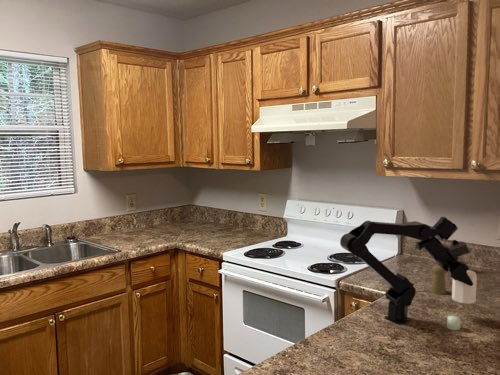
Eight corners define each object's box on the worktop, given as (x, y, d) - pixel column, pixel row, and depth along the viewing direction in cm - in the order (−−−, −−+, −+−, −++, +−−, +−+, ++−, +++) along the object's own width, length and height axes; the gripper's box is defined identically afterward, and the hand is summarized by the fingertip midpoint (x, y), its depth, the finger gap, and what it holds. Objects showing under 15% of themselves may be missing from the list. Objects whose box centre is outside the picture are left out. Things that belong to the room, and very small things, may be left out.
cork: (433, 288, 190) (434, 263, 189) (448, 291, 186) (449, 265, 185) (428, 292, 185) (429, 266, 184) (443, 295, 181) (444, 269, 180)
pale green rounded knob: (455, 331, 147) (456, 321, 147) (444, 327, 150) (445, 317, 150) (462, 328, 149) (463, 318, 149) (451, 324, 152) (452, 314, 152)
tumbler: (477, 303, 153) (479, 275, 152) (456, 302, 154) (457, 274, 153) (470, 296, 160) (471, 269, 159) (450, 296, 161) (451, 269, 160)
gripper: (463, 240, 146) (497, 274, 145) (446, 229, 164) (476, 259, 164) (437, 262, 148) (471, 296, 147) (423, 249, 166) (453, 279, 166)
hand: (468, 281), depth 156 cm, fingers closed on tumbler, 7 cm apart
